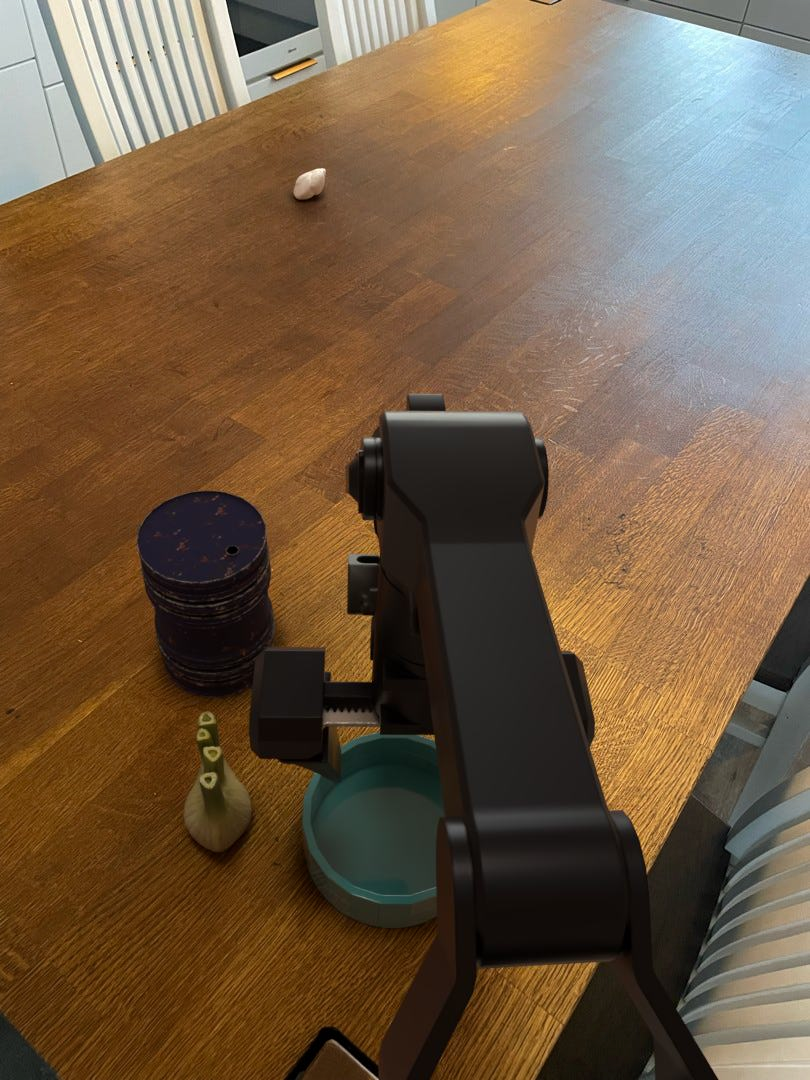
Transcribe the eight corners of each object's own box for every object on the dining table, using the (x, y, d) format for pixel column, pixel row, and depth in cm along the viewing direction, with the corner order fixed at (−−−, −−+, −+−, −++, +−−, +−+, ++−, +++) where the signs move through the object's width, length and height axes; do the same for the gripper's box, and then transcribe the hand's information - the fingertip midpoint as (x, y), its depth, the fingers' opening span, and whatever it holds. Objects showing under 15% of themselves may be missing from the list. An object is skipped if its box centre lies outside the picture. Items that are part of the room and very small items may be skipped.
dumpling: (324, 207, 136) (318, 184, 132) (292, 208, 137) (285, 186, 134) (333, 179, 139) (327, 156, 136) (302, 181, 141) (295, 158, 137)
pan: (484, 929, 63) (493, 904, 60) (298, 928, 62) (296, 903, 59) (471, 762, 72) (478, 733, 69) (308, 759, 72) (308, 729, 68)
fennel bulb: (234, 870, 65) (219, 791, 56) (172, 849, 66) (149, 769, 57) (264, 799, 69) (256, 716, 60) (206, 781, 70) (189, 696, 61)
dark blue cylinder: (137, 663, 77) (106, 546, 66) (211, 591, 83) (193, 472, 72) (229, 718, 74) (212, 605, 63) (298, 638, 80) (294, 522, 69)
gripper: (586, 512, 51) (540, 672, 62) (258, 505, 50) (271, 668, 61) (626, 673, 43) (564, 822, 55) (238, 669, 42) (257, 822, 53)
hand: (411, 775), depth 56 cm, fingers open, 9 cm apart
